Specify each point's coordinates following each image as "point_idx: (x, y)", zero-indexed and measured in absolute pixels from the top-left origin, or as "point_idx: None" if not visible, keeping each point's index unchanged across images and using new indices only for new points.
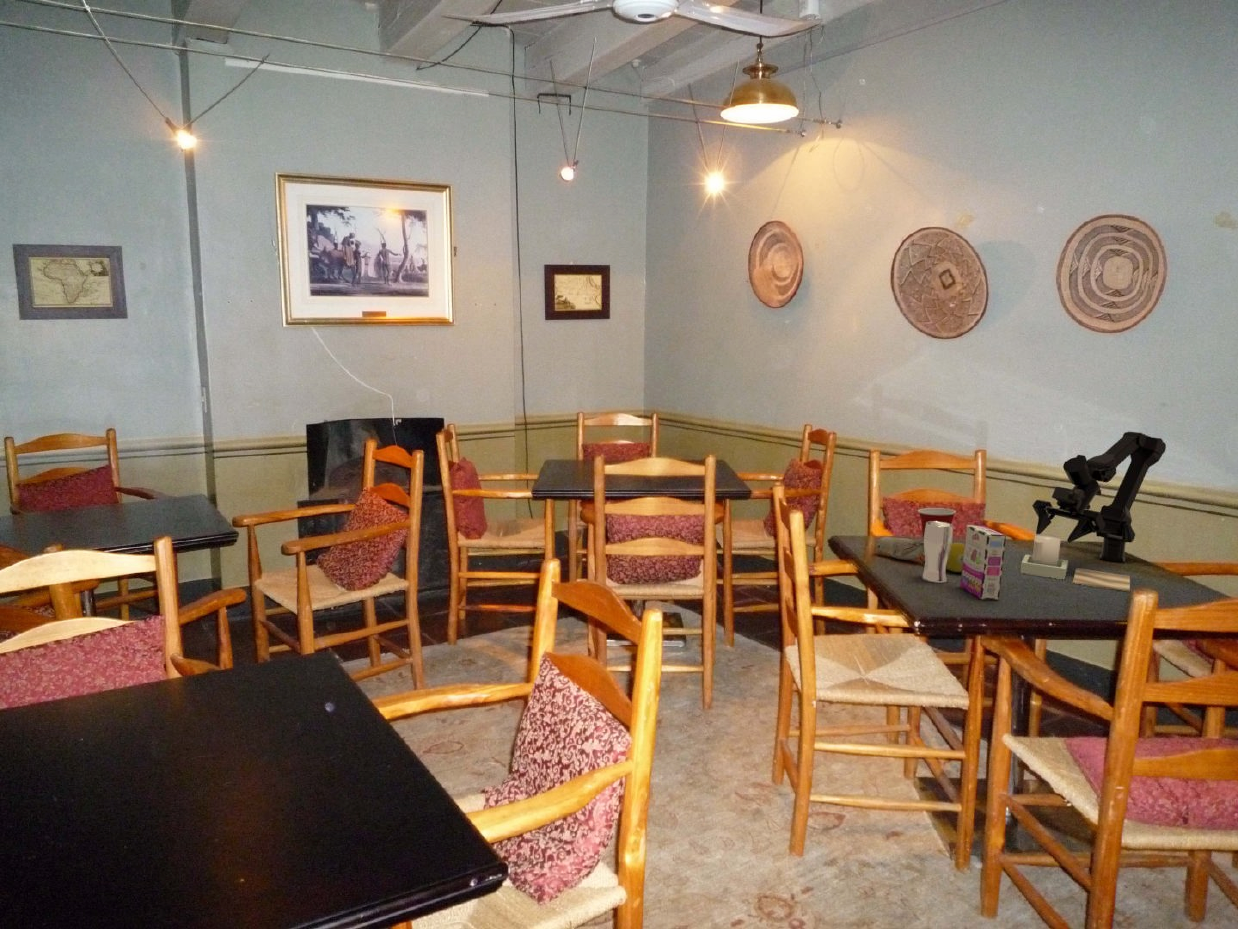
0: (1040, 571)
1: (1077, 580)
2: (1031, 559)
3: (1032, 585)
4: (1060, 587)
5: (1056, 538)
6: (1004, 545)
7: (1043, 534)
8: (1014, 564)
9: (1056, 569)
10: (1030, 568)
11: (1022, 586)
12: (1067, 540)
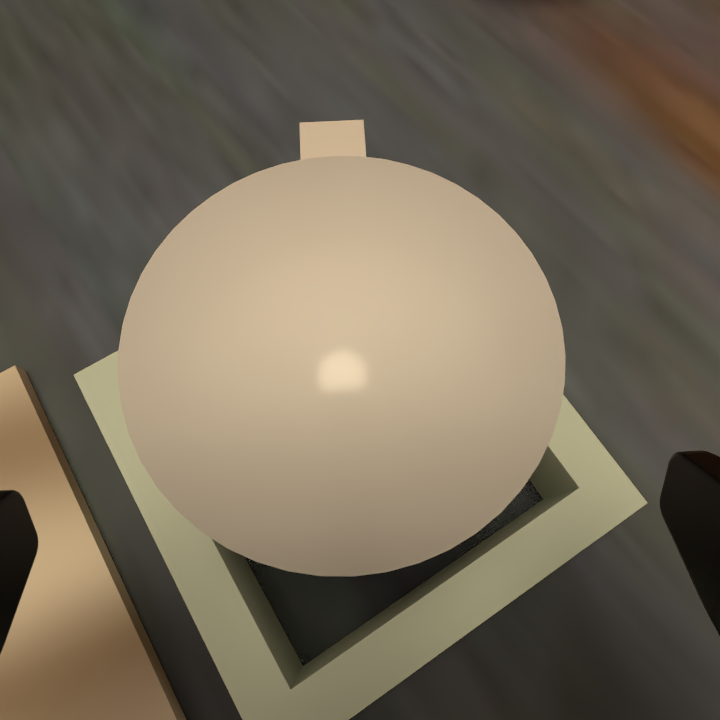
0: None
1: (5, 429)
2: (551, 502)
3: (159, 84)
4: (31, 206)
5: (184, 378)
6: None
7: (517, 435)
8: (627, 426)
9: None
10: None
11: (178, 20)
12: (12, 491)
